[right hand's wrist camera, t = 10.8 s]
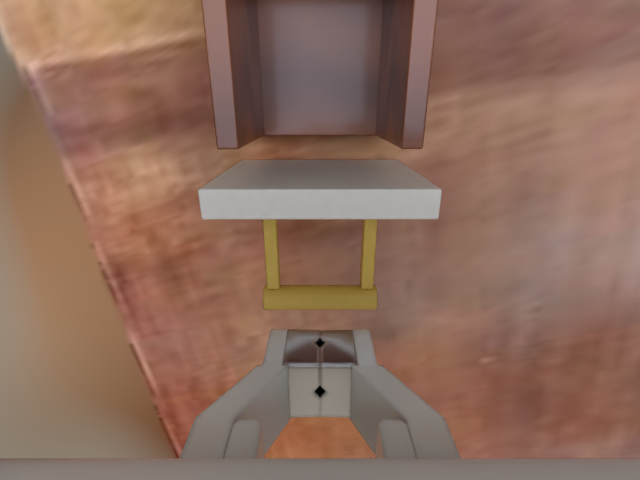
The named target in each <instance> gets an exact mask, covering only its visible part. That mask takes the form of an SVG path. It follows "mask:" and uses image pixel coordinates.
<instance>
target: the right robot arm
mask: <svg viewBox="0 0 640 480" xmlns="http://www.w3.org/2000/svg"><path fill="white" fill-rule="evenodd" d="M290 417H350V420H351V421H352V423H353V424H354V425H355V427H356V428H357V430H358V431H359V432H360V434H361V435H362V437H363V438H364V439H365V441H366V442H367V444H368V445H369V446H370V448H371V449H372V451H373V452H374V453H375V455H376V457H375V458H349V459H265V456H264V455H265V454H266V452H267V451H268V449H269V448H270V447H271V445H272V444H273V442H274V441H275V440H276V438H277V437H278V435H279V434H280V433H281V431H282V430H283V428H284V427H285V426H286V424H287V423H288V422H289V420H290ZM0 480H640V458H533V459H461V458H460V455H459V453H458V450H457V448H456V445H455V443H454V440H453V438H452V435H451V433H450V430H449V428H448V425H447V423H446V420H445V418H444V417H443V416H441V415H440V414H439V413H438V412H437V411H436V410H434V409H433V408H432V407H431V406H430V405H428V404H427V403H426V402H425V401H424V400H423V399H421V398H420V397H419V396H418V395H417V394H415V393H414V392H413V391H412V390H411V389H410V388H408V387H407V386H406V385H405V384H404V383H403V382H401V381H400V380H399V379H398V378H397V377H395V376H394V375H393V374H392V373H391V372H390V371H388V370H387V369H386V368H385V367H384V366H382V365H377V361H376V357H375V352H374V348H373V344H372V339H371V335H370V331H369V330H368V329H352V330H300V329H288V330H287V329H272V330H271V331H270V334H269V339H268V343H267V348H266V352H265V357H264V361H263V365H258V366H256V367H255V368H254V369H253V370H252V371H250V372H249V373H248V374H247V375H246V376H245V377H243V378H242V379H241V380H240V381H239V382H237V383H236V384H235V385H234V386H233V387H231V388H230V389H229V390H228V391H227V392H226V393H224V394H223V395H222V396H221V397H220V398H218V399H217V400H216V401H215V402H214V403H213V404H211V405H210V406H209V407H208V408H207V409H205V410H204V411H203V412H202V413H201V414H199V415H198V416H197V417H196V418H195V421H194V423H193V426H192V428H191V431H190V433H189V435H188V438H187V440H186V443H185V445H184V448H183V450H182V453H181V455H180V458H179V459H0Z"/></svg>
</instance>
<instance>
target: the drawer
mask: <svg viewBox="0 0 640 480" xmlns="http://www.w3.org/2000/svg"><path fill="white" fill-rule="evenodd" d="M201 3H202V12H203V22H204V31H205V40H206V49H207V59H208V68H209V77H210V86H211V96H212V105H213V114H214V123H215V133H216V142H217V148H218V149H239V148H241V147H243V146H244V145H246V144H248V143H250V142H252V141H254V140H256V139H258V138H260V137H262V136H328V135H377V136H378V137H380V138H382V139H384V140H386V141H388V142H390V143H392V144H394V145H396V146H398V147H400V148H402V149H422V147H423V140H424V131H425V121H426V112H427V102H428V93H429V83H430V74H431V65H432V55H433V46H434V36H435V27H436V17H437V8H438V0H201ZM198 194H199V202H200V209H201V217H202V219H263V232H264V247H265V263H266V278H267V285H265V287H264V290H263V307H264V309H265V310H375V309H376V308H377V289H376V286H375V285H373V280H374V265H375V249H376V233H377V219H438V217H439V209H440V201H441V194H442V190H441V189H440V188H439V187H437V186H436V185H434V184H433V183H431V182H430V181H428V180H427V179H426V178H424V177H423V176H421V175H420V174H418V173H417V172H415V171H414V170H412V169H411V168H409V167H408V166H407V165H405V164H404V163H402V162H401V161H399V160H241V161H240V162H238V163H237V164H235V165H234V166H232V167H231V168H229V169H228V170H226V171H225V172H224V173H222V174H221V175H219V176H218V177H216V178H215V179H213V180H212V181H210V182H209V183H207V184H206V185H204V186H203V187H202V188H200V189H199V190H198ZM277 219H363V227H362V248H361V269H360V285H280V265H279V244H278V224H277Z"/></svg>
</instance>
